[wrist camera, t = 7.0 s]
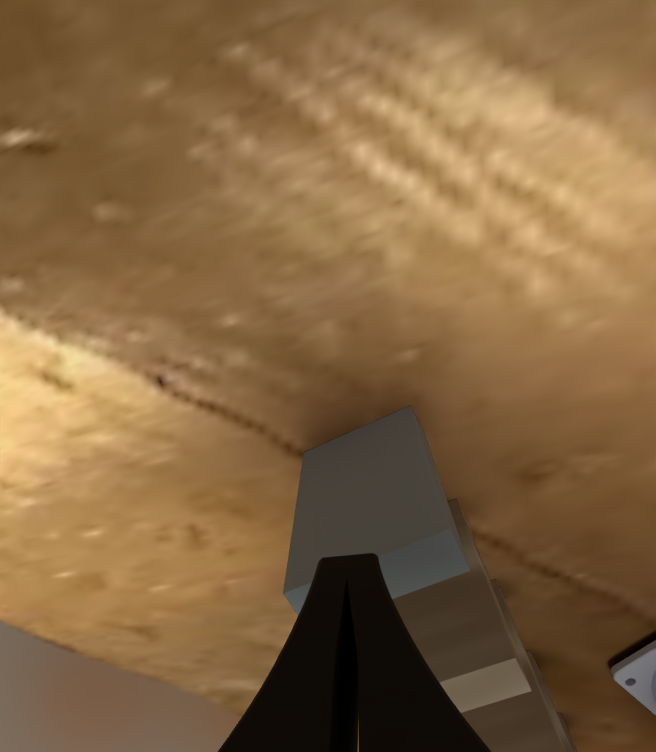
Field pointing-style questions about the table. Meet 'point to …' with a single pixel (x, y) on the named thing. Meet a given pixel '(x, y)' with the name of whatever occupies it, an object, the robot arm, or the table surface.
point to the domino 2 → (465, 632)
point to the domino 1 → (374, 509)
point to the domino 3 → (516, 709)
